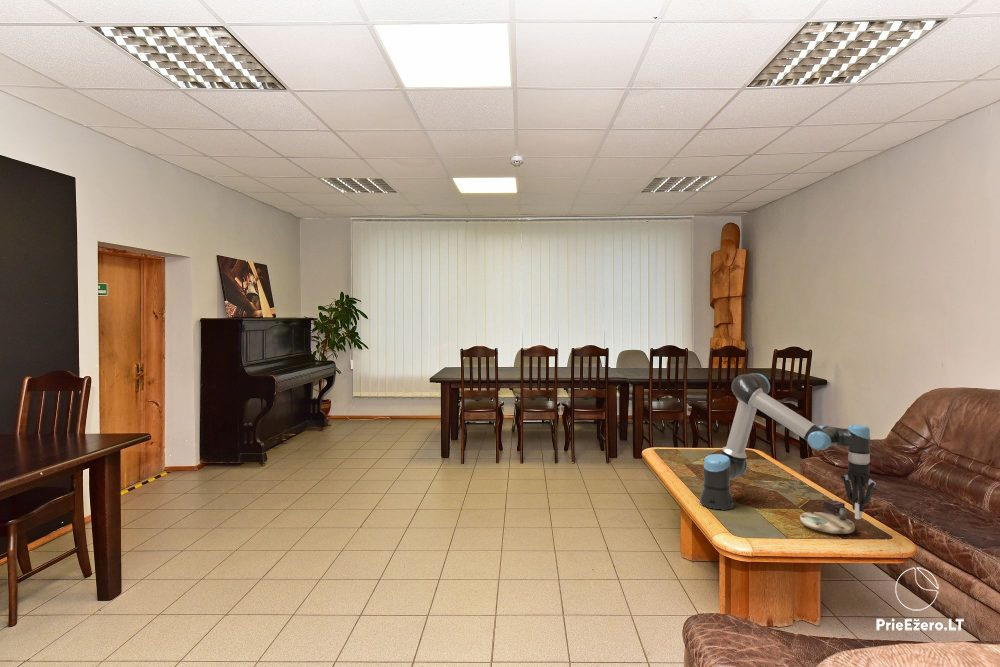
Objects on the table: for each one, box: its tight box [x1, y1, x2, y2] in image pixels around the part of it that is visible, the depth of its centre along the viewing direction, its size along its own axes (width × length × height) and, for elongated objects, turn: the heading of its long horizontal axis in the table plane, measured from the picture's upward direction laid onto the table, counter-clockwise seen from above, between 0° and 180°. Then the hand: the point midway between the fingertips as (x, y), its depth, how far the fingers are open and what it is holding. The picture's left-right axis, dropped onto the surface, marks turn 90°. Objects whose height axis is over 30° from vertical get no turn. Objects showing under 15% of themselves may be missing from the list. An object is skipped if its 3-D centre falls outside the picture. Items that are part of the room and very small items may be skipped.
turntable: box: [799, 508, 856, 535], centre depth 232 cm, size 20×20×6 cm
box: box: [822, 499, 846, 516], centre depth 244 cm, size 6×6×7 cm
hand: (858, 518), depth 227 cm, fingers closed
